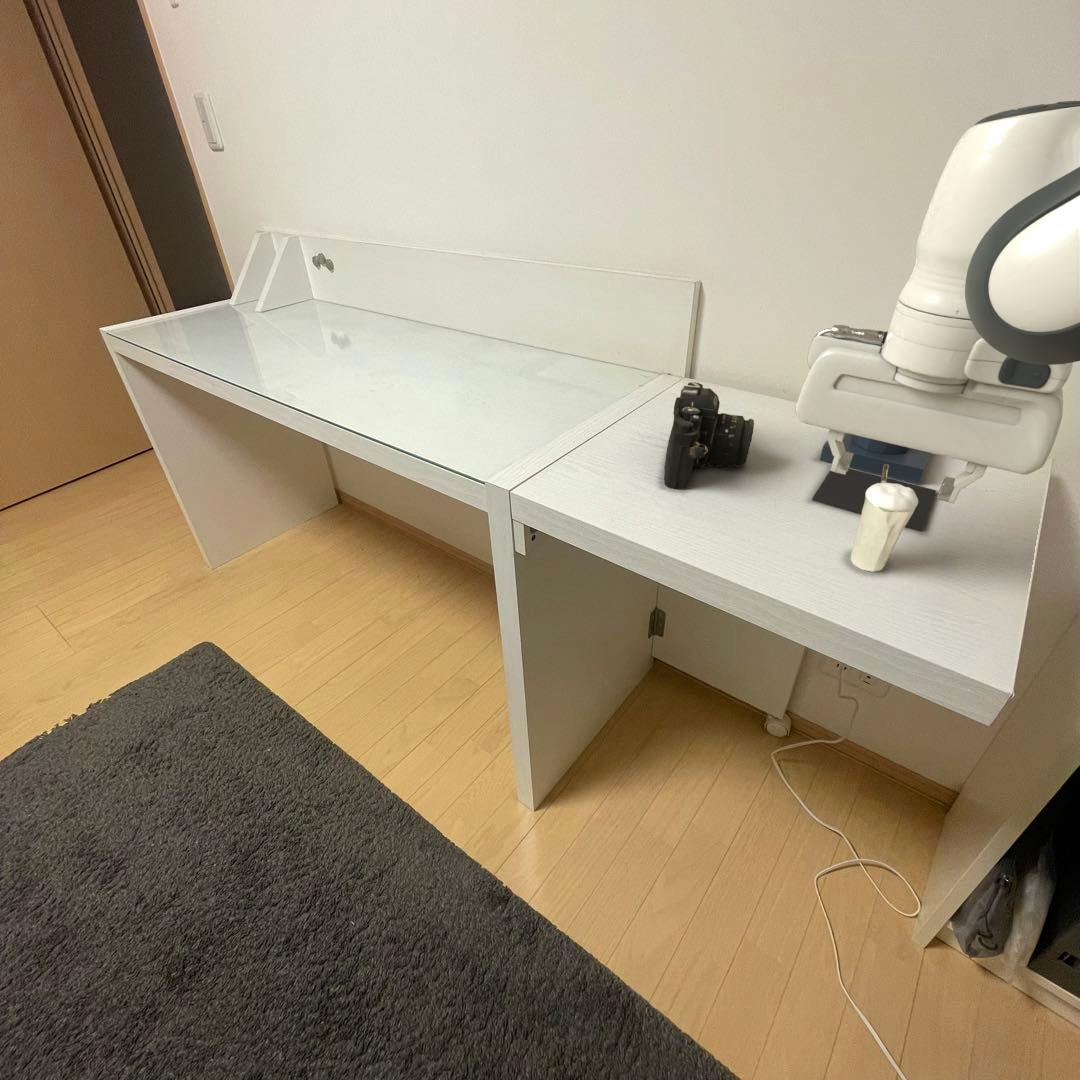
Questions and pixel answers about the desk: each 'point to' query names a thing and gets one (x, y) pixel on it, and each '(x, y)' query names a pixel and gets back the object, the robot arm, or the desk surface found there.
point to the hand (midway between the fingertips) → (890, 484)
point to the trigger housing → (882, 458)
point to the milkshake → (881, 522)
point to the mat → (853, 488)
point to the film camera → (703, 436)
